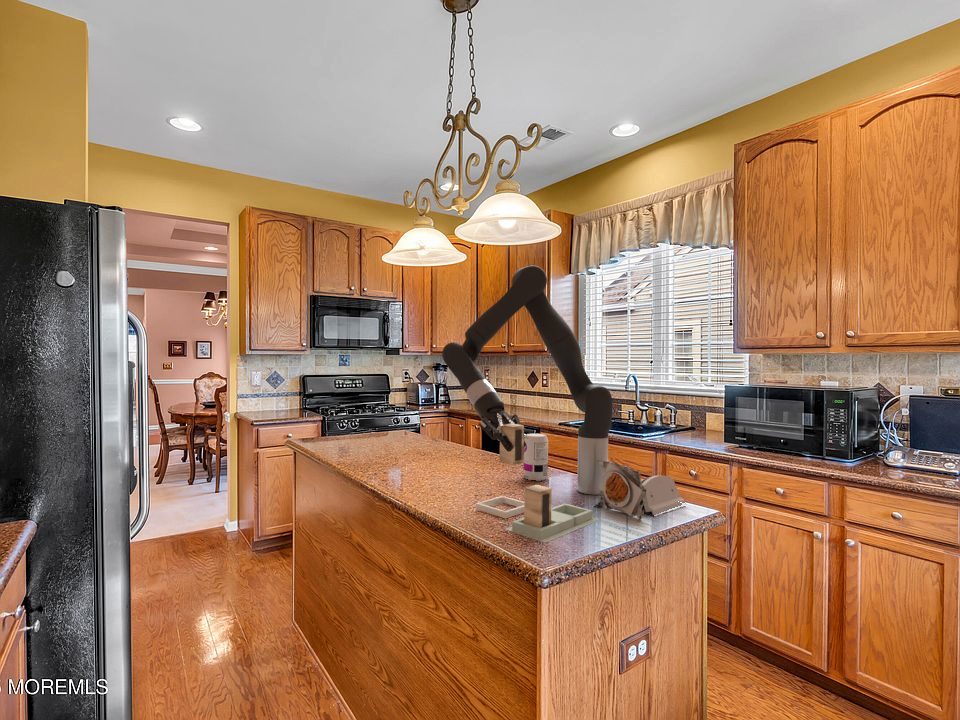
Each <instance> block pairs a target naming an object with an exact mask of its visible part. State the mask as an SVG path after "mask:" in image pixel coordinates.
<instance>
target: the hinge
mask: <svg viewBox="0 0 960 720" xmlns="http://www.w3.org/2000/svg"><path fill="white" fill-rule="evenodd" d="M641 482H642V484H643V485H644V487H645V488H646V494H645V498H644V502H645V503H644V505H643V506H642V511H643V510H644V513H650V512H651V513H652V516H653V515H656V514H659V513H661V512H664V511H667V510H669V509H672V508H675V507H678V506H681V505H682V503H685V504H686V501H685V499H683V498H682V497H681V496H680V494H679V491H678V488H677V485H676V482H675V481H674V478H673V477H671V476H667V475H653V476H652V475H651V476H648V477H646V478H643V479H642V480H641ZM641 490H643V489H642V488H641ZM644 493H645V492H643V493H642V495H644ZM678 501H679V502H678ZM680 502H682V503H680ZM642 504H643V500H641V502H640V505H642Z"/></svg>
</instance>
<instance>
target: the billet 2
mask: <svg viewBox="0 0 960 720" xmlns="http://www.w3.org/2000/svg"><path fill="white" fill-rule="evenodd" d="M552 491H553V489H552V487H549V486H543V485H539V484H534V485H530V486H527V487H524V501H523V502H524V513H523V518H524V524H527V525H530V526H534V527H537V528H543V527H546V526H548V525H551V508H552V495H553V494H552V493H553V492H552Z"/></svg>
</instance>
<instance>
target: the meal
mask: <svg viewBox="0 0 960 720" xmlns="http://www.w3.org/2000/svg"><path fill="white" fill-rule="evenodd" d="M597 462H598V464H599V465H600V466H601V469H602V470H603V472H604V476H603V477H602V481H601V483H600V486H599V489H600V490H601V491H600V495H601V496H599V497H598V499H599V500H598V501H597V503H596V504H595V505H593V508H601V509H606V510H615V511H618V512H620V513H623V512H624V513H623V514H627V515H628V516H629V517H630V516H633V517H635V516H636V517H637V520H638V521H639V520H640V521H641V520H642V518H643V517H644V513H645V512H644V510H643V511H642V506H643V505H644V503H645V502H644V498H645V494H646V488H645V487H644V485H643V484H642V482H641V478H642V475H641V472H640V471H638V470H637V471H636V470H635V469H632V468H631V467H630V466H627V465H623V464H619V463H617V462H613V461H610V462H606V461H601V460H597ZM641 488H642V489H643V490H641ZM643 492H645V493H644V495H642V493H643ZM641 500H643V504H642V505H640V502H641Z"/></svg>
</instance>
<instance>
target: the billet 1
mask: <svg viewBox="0 0 960 720" xmlns="http://www.w3.org/2000/svg"><path fill="white" fill-rule="evenodd" d="M502 426H503V430H504V432H505V434H506V435H505V436H507V437H508V439H509V440H510V442H511V443H512V445H513V446H514V448H513V449H512V450H511V451H510V452H508V451H507V450H506V449H505V448H504V446H503V445H502V443H501V442H500V441H499V463H500V464H505V465H510V466H516V465H519V464H524V438H525V425H524V424H521V425H519V424H504V425H502Z"/></svg>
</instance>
